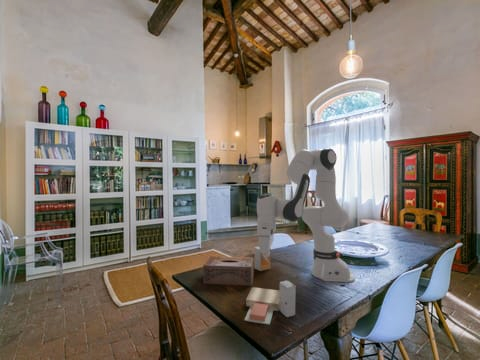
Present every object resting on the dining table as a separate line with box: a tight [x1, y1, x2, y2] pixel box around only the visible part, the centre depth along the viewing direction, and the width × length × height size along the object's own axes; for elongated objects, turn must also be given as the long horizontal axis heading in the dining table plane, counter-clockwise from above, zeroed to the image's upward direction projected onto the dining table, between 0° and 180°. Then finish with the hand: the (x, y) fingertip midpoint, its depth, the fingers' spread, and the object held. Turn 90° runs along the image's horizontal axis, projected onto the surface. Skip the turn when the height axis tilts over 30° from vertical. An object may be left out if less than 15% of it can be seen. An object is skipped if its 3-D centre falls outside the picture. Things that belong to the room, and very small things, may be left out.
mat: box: [244, 306, 274, 326], centre depth 96 cm, size 10×10×1 cm
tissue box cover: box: [202, 256, 255, 287], centre depth 131 cm, size 26×14×10 cm, turn 82°
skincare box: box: [278, 280, 297, 318], centre depth 98 cm, size 6×4×12 cm
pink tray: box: [250, 303, 269, 322], centre depth 96 cm, size 9×6×2 cm, turn 163°
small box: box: [254, 246, 272, 272], centre depth 145 cm, size 8×6×13 cm
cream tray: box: [245, 286, 280, 312], centre depth 107 cm, size 14×12×3 cm
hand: (267, 255), depth 113 cm, fingers closed
